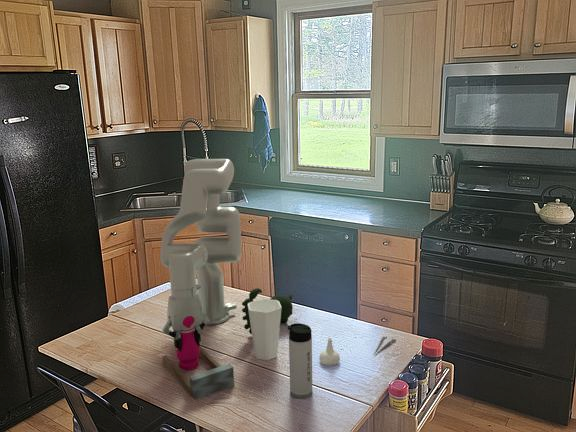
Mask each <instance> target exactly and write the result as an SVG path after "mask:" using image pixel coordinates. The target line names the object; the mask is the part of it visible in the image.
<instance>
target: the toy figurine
mask: <svg viewBox="0 0 576 432" xmlns="http://www.w3.org/2000/svg"><path fill="white" fill-rule="evenodd" d="M262 293H263V290H262V289H261V288H259V287H258V288H257V287H256V288H252V290H251V291H250V292H249V295H248V298H245V300H244V301H242V302H241V305H242V306H243V308H242V309H241V312H242V313H244V314H245V315H243V316H242V320H243V321H246V323H245V324H244V326H243V328H244V329H245V330H248V332H249V334H250V335H252V331H251V325H250V318H249V311H248V305H247V304H248V303H250V302H253V301H254V300H255V299H256V298H257V296H258V295H259V294H262ZM270 299H271V300H278V301H279V302H280V305H281V307H282V308H281V319H280V329H281V327H282V325H281V324H287V323H288V321H289V318H290V317H291V316H292V315H293V303H292V299H293V294H289V295H283V294H276V295H273V296H272V297H270Z"/></svg>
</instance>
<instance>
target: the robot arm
mask: <svg viewBox="0 0 576 432" xmlns="http://www.w3.org/2000/svg"><path fill="white" fill-rule="evenodd" d="M183 169H184V176H183V183H182V188H181V189H182V190H181V199H180V206H179V211H178V213H177V214H176V215H174V217H173V218H172V219H171V220H170V221H169V223H168V224H167V226H166V227H165V229H164V231H163V233H162V237H161V245H160V251H159V252H160V253H159V254H160V256H159V257H160V258H159V259H160V263H161V264H162V266H164V267H165V268H169V279H170V281H169V282H170V293H171V295H170V296H168V300H167V310H166V311H167V314H166V315H167V318H166V319H167V321H166V323H165V325H164V326H163V327H162V329H161V330H162V332H163V334H166V335H167V336H170V337H172V338H173V343H174V348H175V349H176V350H177V349H178V350H179V352H180V351H181V350H182V345H181V339H180V332H181V330H182V329H185V328H187V327H186V326H184V325H183V320H184V319H185V318H186V317H187V316H192V317H194V319H195V321H194V323H193V324H192V325H191V326H190V327H193V326H194V327H195V329H194V330H193V334H194V338H195V340H196V342H197V345H198V346H201V343H200V342H201V340H202V339H201V333H202V331H203V329H204V328H205V327H206V326H207V325H208V326H211V325H213V326H214V325H219V324H222V323H224V322H226V321H228V320H229V318H230V313H229V312H230V311H232V310H236V309H238V306H237V304H236V303H233V304H232V303H230V302H229V303H226V304H225V291H224V290H225V288H224V286H225V285H224V273H223V271H222V268H221V267H220V265H219V264H223V263H224V264H226V263H227V264H233V263H237V262H239V261H240V260H241V257H242V228H241V227H242V226H241V215H240V211H239V210H238V209H237V208H236V207H233V206H221V205H220V195H224V194H226V193H227V191H228V189H229V188H230V185H231V183H232V182H233V179H234V175H235V167H234V164H233V161H231V159H229V158H197V159H195V158H194V159H190V160H187V161H186V162H185V164H184V168H183ZM195 223H196V228H197V230H198V232H200V233H203V234H205V233H206V234H226V235H227V236H201V237H198V238H196V239H195V240H194V241H193V243H174V239H175V237H176V236H177V235H178V234H179V233H180V231H182V230H183V229H186V228H187V227H189V226H192V225H193V224H195ZM170 328H171V329H172V330H171V329H170Z"/></svg>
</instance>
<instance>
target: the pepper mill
mask: <svg viewBox="0 0 576 432" xmlns="http://www.w3.org/2000/svg"><path fill="white" fill-rule="evenodd" d="M194 321H195V319H194V317H192V316H187V317H186V318H185V319H184V320H183V325H184V326H186V327H187V328H185V329H182V330H181V332H180V336H179V338H180V339H181V345H182V350H181V351H180V352H179V350H178V349H177V348H176V351H175V352H176V353H175V355H176V358H177V359H178V369H179V370H180V371H181V370H182V371H193V370H195V369H197V368H199V366H200V359H199V358H200V356H199V355H200V349H199V346H198V345H197V342H196V340H195V338H194V334H193V332H194V330H195V327H194V326H193V327H190V326H191V325H192V324H193V323H194Z"/></svg>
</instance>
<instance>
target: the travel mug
mask: <svg viewBox="0 0 576 432" xmlns="http://www.w3.org/2000/svg"><path fill="white" fill-rule="evenodd" d="M286 329H287V331H288V353H289V354H288V359H289V360H288V361H289V362H288V363H289V390H290V391H289V392H290V395H291V396H293V398H294V397H295V398H297V399H305V398H309V397H310V396H311V395H312V394H313V339H312V338H313V336H312V328H311V327H310V326H309V325H307V324H305V323H300V322H299V323H298V322H297V323H291V324H290V325H287V327H286Z"/></svg>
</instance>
